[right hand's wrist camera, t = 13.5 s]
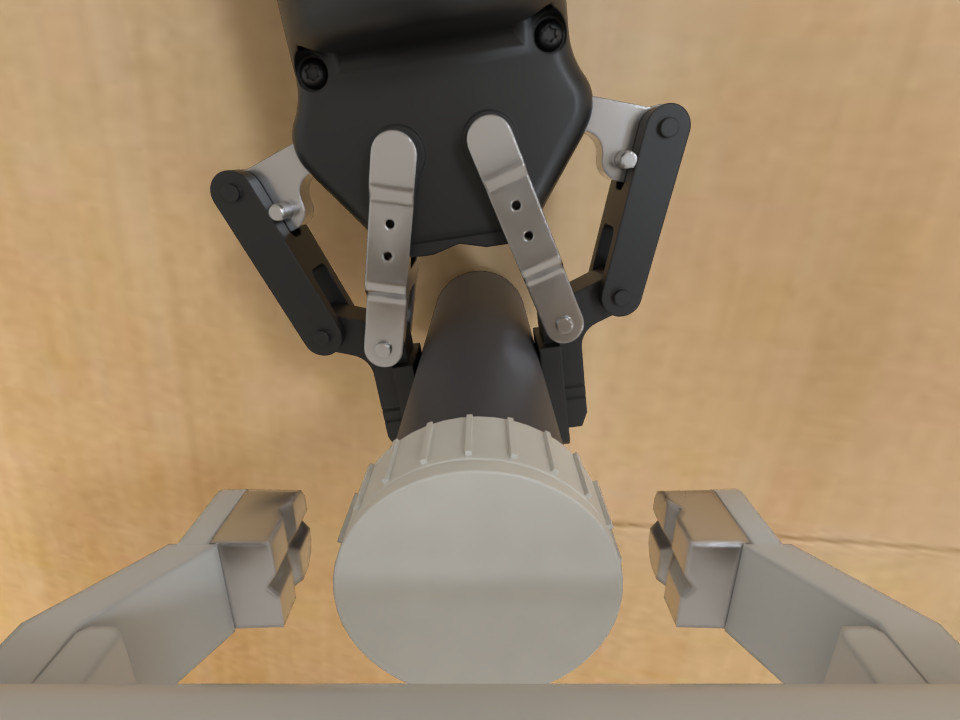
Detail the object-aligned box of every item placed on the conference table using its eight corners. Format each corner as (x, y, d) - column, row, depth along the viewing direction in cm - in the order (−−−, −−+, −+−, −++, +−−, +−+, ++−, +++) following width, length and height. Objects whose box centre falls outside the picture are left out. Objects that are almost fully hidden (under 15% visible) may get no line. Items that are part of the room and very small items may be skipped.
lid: (596, 395, 10) (621, 448, 8) (610, 606, 11) (634, 688, 10) (326, 428, 10) (294, 487, 8) (381, 630, 12) (364, 714, 10)
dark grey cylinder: (519, 264, 24) (586, 462, 9) (529, 351, 25) (601, 650, 10) (428, 277, 24) (337, 491, 9) (442, 362, 25) (386, 671, 10)
